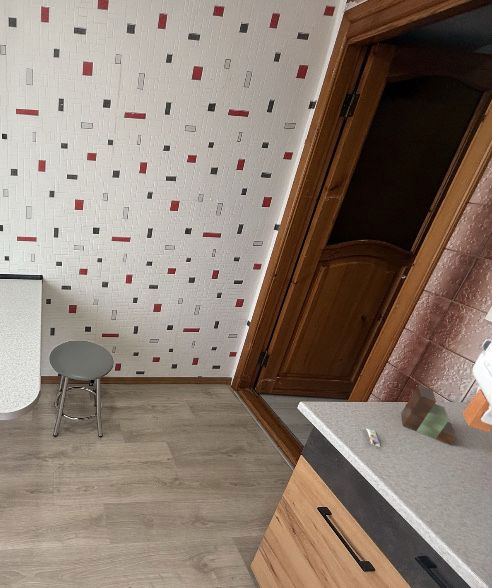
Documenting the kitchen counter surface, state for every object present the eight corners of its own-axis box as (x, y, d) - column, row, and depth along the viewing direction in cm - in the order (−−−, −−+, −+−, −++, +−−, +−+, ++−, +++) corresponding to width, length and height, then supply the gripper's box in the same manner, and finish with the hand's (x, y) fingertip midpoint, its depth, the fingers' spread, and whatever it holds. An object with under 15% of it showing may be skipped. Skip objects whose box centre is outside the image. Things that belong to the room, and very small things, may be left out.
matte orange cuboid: (481, 419, 74) (499, 395, 71) (488, 432, 70) (507, 407, 68) (462, 413, 76) (479, 388, 73) (467, 425, 72) (485, 400, 69)
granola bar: (364, 429, 95) (366, 426, 94) (374, 432, 94) (376, 430, 93) (369, 445, 89) (371, 442, 89) (380, 449, 88) (382, 446, 88)
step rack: (446, 430, 96) (467, 401, 91) (450, 445, 91) (472, 414, 86) (400, 413, 101) (418, 384, 97) (402, 425, 96) (421, 396, 92)
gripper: (568, 393, 57) (520, 450, 63) (525, 347, 72) (489, 397, 78) (513, 377, 61) (472, 433, 66) (483, 336, 76) (452, 385, 81)
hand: (481, 413), depth 72 cm, fingers closed on matte orange cuboid, 5 cm apart
